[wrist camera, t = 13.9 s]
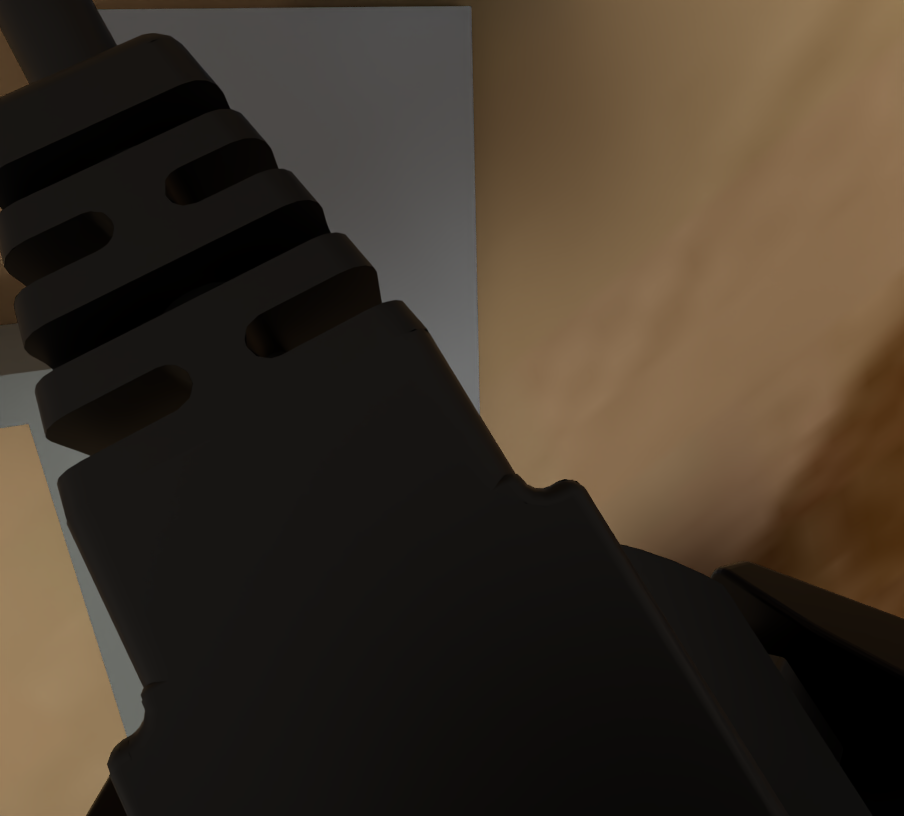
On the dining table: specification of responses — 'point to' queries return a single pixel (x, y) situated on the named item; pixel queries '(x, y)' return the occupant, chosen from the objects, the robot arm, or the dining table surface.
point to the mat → (362, 135)
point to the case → (14, 403)
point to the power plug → (337, 502)
